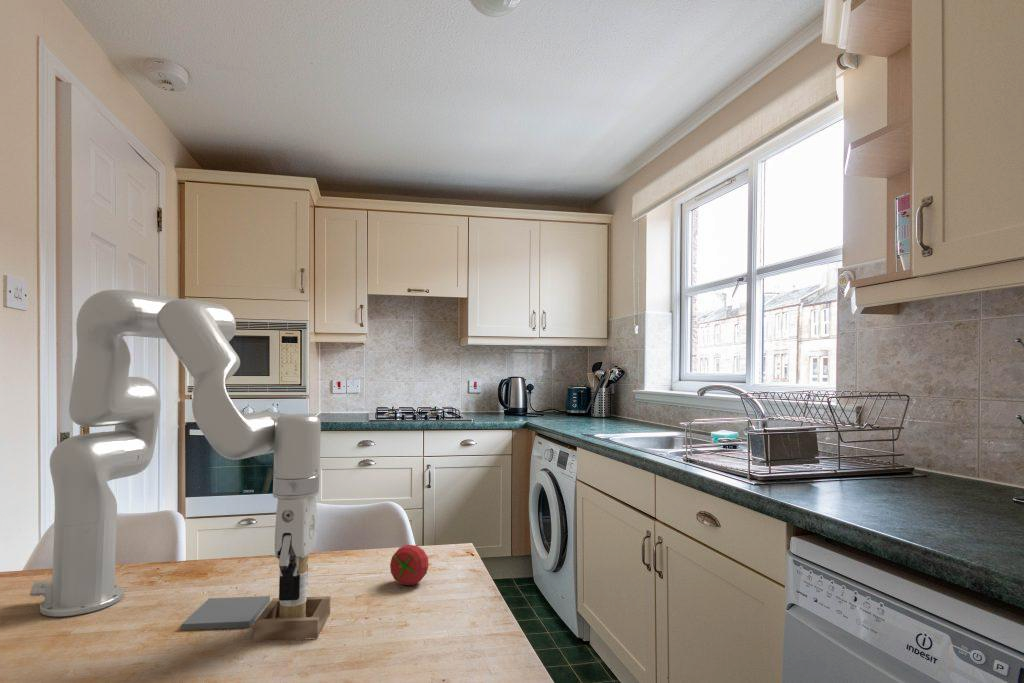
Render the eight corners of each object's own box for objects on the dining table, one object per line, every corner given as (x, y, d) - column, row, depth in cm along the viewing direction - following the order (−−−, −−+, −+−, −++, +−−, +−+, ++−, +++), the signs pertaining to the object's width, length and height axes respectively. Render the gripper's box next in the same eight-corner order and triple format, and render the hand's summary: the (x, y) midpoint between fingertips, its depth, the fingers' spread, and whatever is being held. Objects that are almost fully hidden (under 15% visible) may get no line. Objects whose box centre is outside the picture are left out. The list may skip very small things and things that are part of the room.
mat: (181, 630, 96) (181, 624, 97) (208, 603, 107) (209, 598, 107) (249, 627, 98) (249, 621, 98) (269, 601, 109) (269, 596, 109)
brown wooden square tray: (253, 641, 92) (254, 622, 93) (272, 615, 102) (273, 598, 102) (317, 638, 93) (317, 619, 94) (330, 613, 103) (330, 596, 104)
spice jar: (274, 620, 98) (277, 541, 99) (301, 613, 101) (303, 536, 102) (283, 630, 95) (285, 547, 95) (310, 622, 98) (312, 542, 98)
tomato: (416, 535, 123) (400, 537, 116) (441, 561, 120) (425, 566, 113) (392, 563, 123) (375, 568, 116) (416, 591, 120) (399, 597, 113)
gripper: (306, 496, 91) (303, 613, 90) (329, 476, 108) (326, 575, 107) (257, 497, 90) (253, 615, 89) (287, 477, 107) (285, 576, 106)
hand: (293, 592), depth 98 cm, fingers closed on spice jar, 4 cm apart
